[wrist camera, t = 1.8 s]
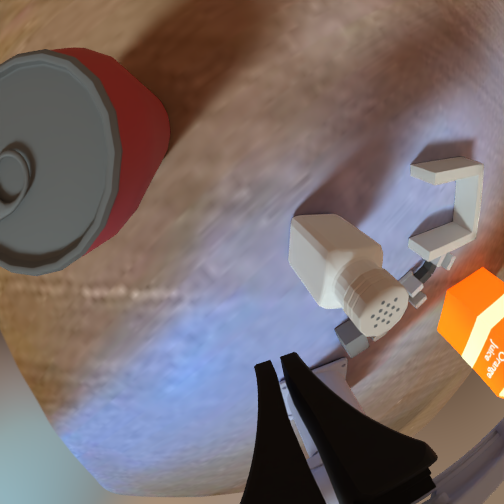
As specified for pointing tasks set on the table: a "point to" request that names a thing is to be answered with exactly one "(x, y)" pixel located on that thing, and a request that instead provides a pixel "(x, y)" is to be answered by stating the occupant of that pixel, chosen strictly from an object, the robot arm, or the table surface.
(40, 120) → the beer can
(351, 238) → the pepper shaker
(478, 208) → the end holder
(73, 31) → the table surface
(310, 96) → the table surface
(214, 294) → the table surface
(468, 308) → the orange juice
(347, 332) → the cable route
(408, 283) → the clips
